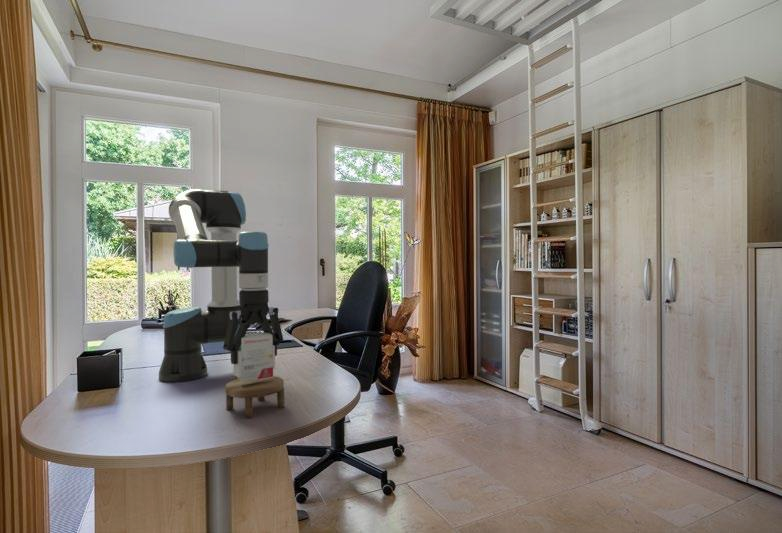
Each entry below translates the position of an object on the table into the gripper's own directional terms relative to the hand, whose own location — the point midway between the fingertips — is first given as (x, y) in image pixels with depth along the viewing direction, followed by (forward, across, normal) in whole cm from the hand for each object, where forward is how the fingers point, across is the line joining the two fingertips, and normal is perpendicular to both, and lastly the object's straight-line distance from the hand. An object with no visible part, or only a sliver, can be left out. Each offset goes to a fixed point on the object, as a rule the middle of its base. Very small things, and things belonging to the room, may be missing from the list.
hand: (254, 371), depth 116 cm
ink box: (+2, 0, 0) cm, 2 cm away
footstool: (+10, 0, 0) cm, 10 cm away
